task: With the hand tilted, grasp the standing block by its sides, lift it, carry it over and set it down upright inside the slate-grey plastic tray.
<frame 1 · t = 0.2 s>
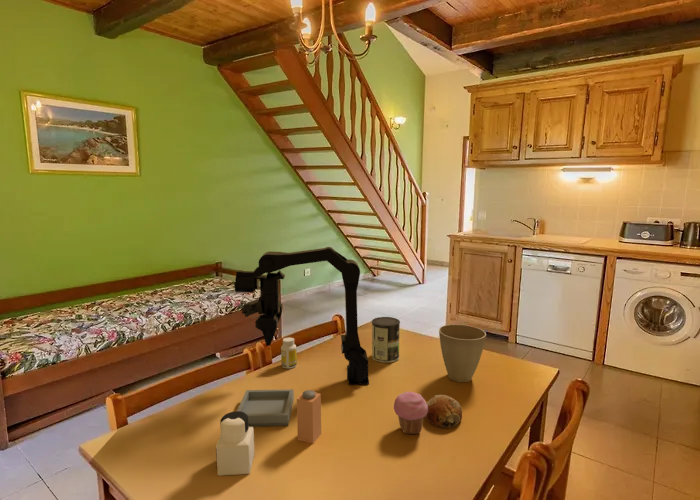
hand: (270, 340, 130), 15 cm above the table, tool pointing down, fingers open, 9 cm apart
block: (309, 436, 104), on the table
supplement bottle: (289, 366, 145), on the table
plant pot: (460, 377, 136), on the table
cupcake: (410, 430, 106), on the table
tray: (266, 411, 115), on the table
coffee can: (385, 357, 152), on the table
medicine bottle: (236, 465, 93), on the table
bread roll: (443, 419, 112), on the table
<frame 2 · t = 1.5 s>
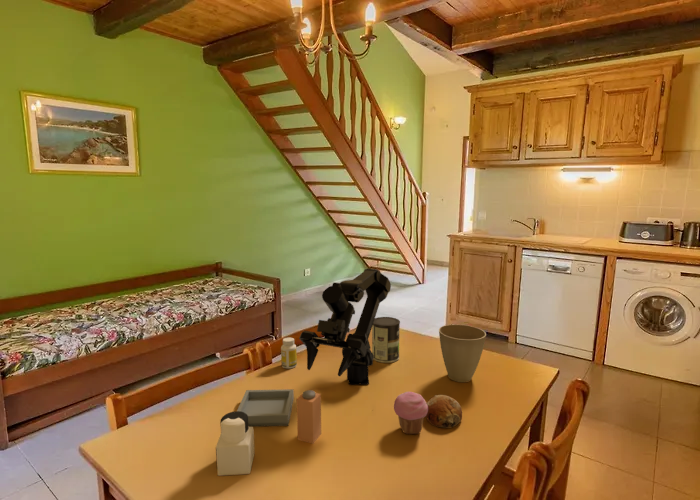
hand: (323, 372, 109), 13 cm above the table, tool tilted 45°, fingers open, 9 cm apart
nothing on the table moved.
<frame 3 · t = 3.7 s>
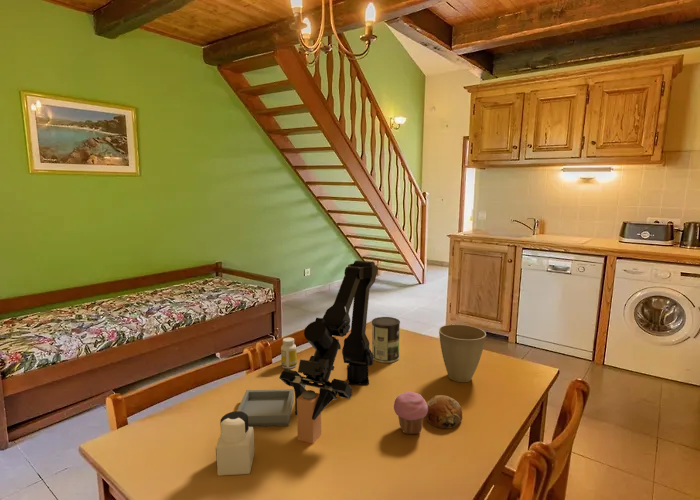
hand: (304, 417, 100), 7 cm above the table, tool tilted 45°, fingers closed on block, 4 cm apart
block: (309, 436, 103), on the table, touching gripper
everything else where it was.
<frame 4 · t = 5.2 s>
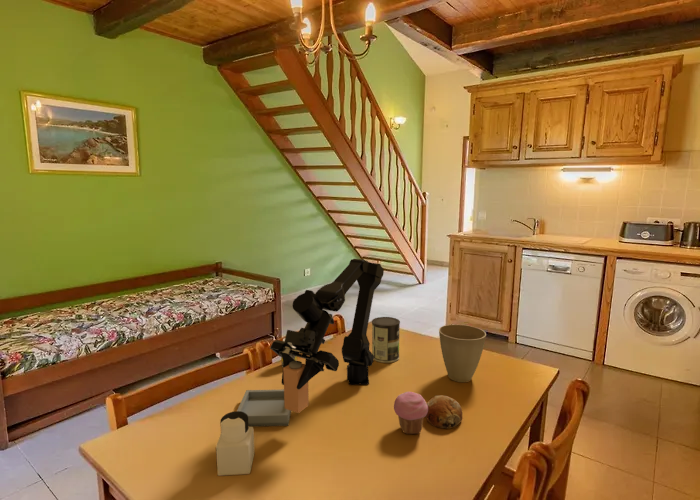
hand: (290, 386, 102), 13 cm above the table, tool tilted 45°, fingers closed on block, 4 cm apart
block: (296, 406, 105), point 7 cm above the table, touching gripper
everything else where it was.
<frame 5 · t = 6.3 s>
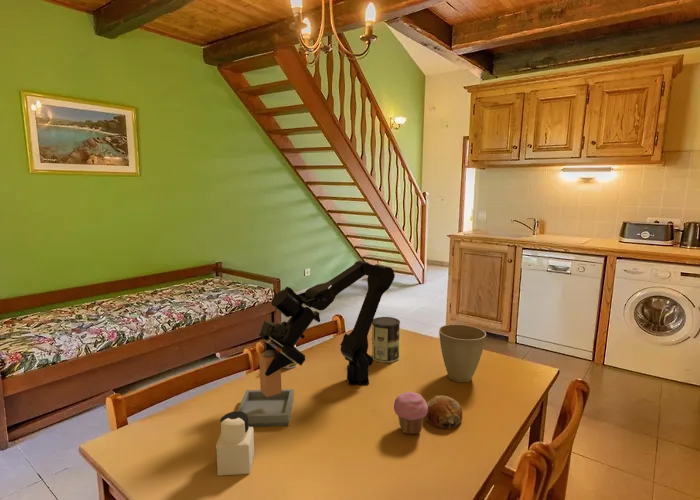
hand: (262, 372, 113), 12 cm above the table, tool tilted 45°, fingers closed on block, 4 cm apart
block: (271, 391, 115), point 6 cm above the table, touching gripper
everything else where it was.
when the fingers open (9 cm above the table, at t = 7.0 s): block drops 2 cm, resting on tray.
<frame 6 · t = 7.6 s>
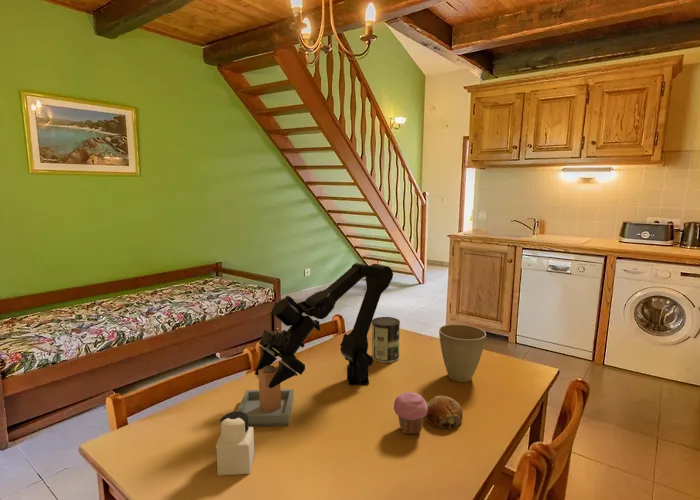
hand: (262, 380, 113), 10 cm above the table, tool tilted 45°, fingers open, 9 cm apart
block: (270, 407, 116), point 1 cm above the table, touching tray
everything else where it was.
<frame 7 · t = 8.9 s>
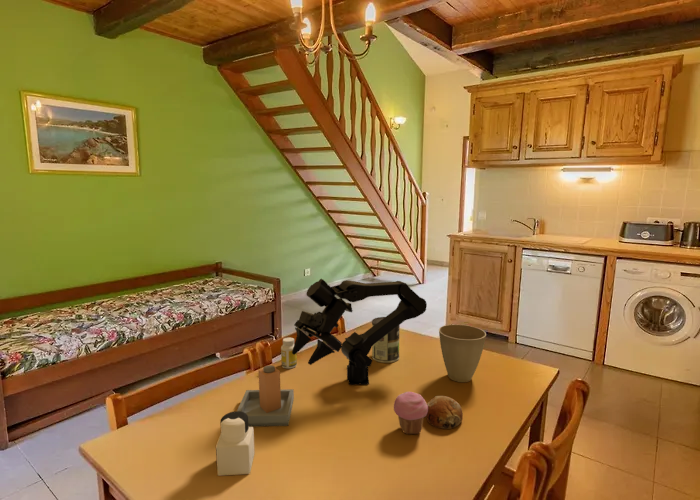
hand: (300, 358, 121), 12 cm above the table, tool tilted 45°, fingers open, 9 cm apart
nothing on the table moved.
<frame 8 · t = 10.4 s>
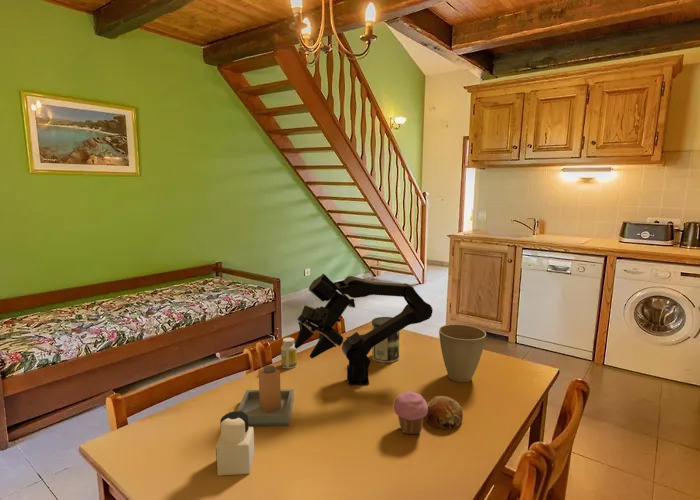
hand: (302, 352, 122), 14 cm above the table, tool tilted 45°, fingers open, 9 cm apart
nothing on the table moved.
at the end: block inside the target area on the tray (1.3 cm from its centre), point 1.0 cm above the tray's base; block tilted 0°; the gripper is holding nothing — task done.
